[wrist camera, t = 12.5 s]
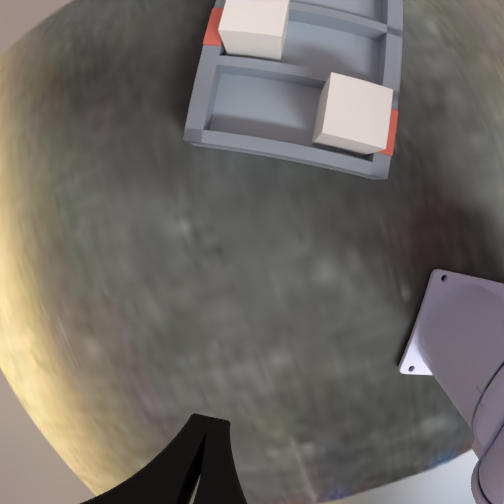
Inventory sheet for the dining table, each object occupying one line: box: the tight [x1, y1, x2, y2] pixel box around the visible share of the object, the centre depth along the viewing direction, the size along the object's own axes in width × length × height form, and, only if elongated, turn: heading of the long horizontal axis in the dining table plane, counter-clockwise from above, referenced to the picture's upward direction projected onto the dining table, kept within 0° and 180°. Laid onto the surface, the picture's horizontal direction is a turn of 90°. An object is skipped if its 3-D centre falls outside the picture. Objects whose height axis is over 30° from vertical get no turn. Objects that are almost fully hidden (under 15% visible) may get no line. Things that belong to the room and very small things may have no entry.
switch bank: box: [183, 0, 403, 180], centre depth 15 cm, size 11×14×3 cm
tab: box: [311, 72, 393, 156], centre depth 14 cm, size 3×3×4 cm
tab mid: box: [218, 0, 290, 63], centre depth 13 cm, size 3×3×4 cm
